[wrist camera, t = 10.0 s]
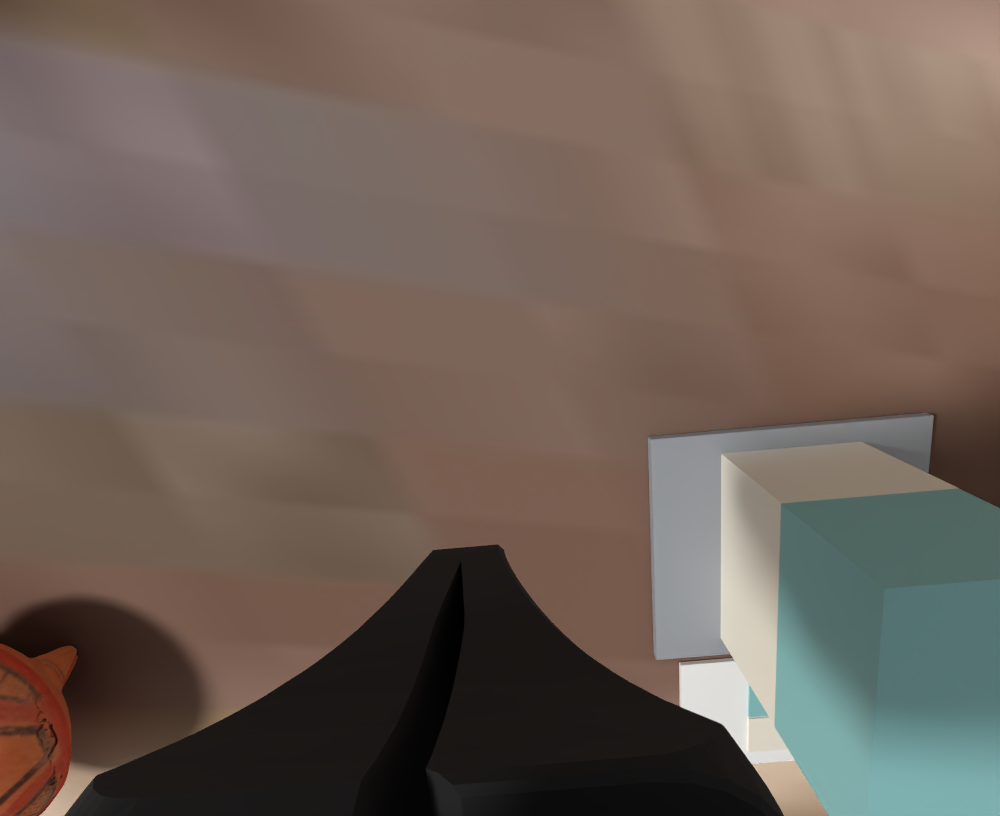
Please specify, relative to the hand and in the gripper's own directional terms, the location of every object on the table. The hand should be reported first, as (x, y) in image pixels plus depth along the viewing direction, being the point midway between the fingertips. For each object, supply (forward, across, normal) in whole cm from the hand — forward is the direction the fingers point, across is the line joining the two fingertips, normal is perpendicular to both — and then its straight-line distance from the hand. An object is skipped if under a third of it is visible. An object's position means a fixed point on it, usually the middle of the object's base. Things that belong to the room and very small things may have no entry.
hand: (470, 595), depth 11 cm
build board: (+10, -11, +5) cm, 16 cm away
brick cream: (+10, -11, +5) cm, 16 cm away
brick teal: (+6, -11, +5) cm, 13 cm away
